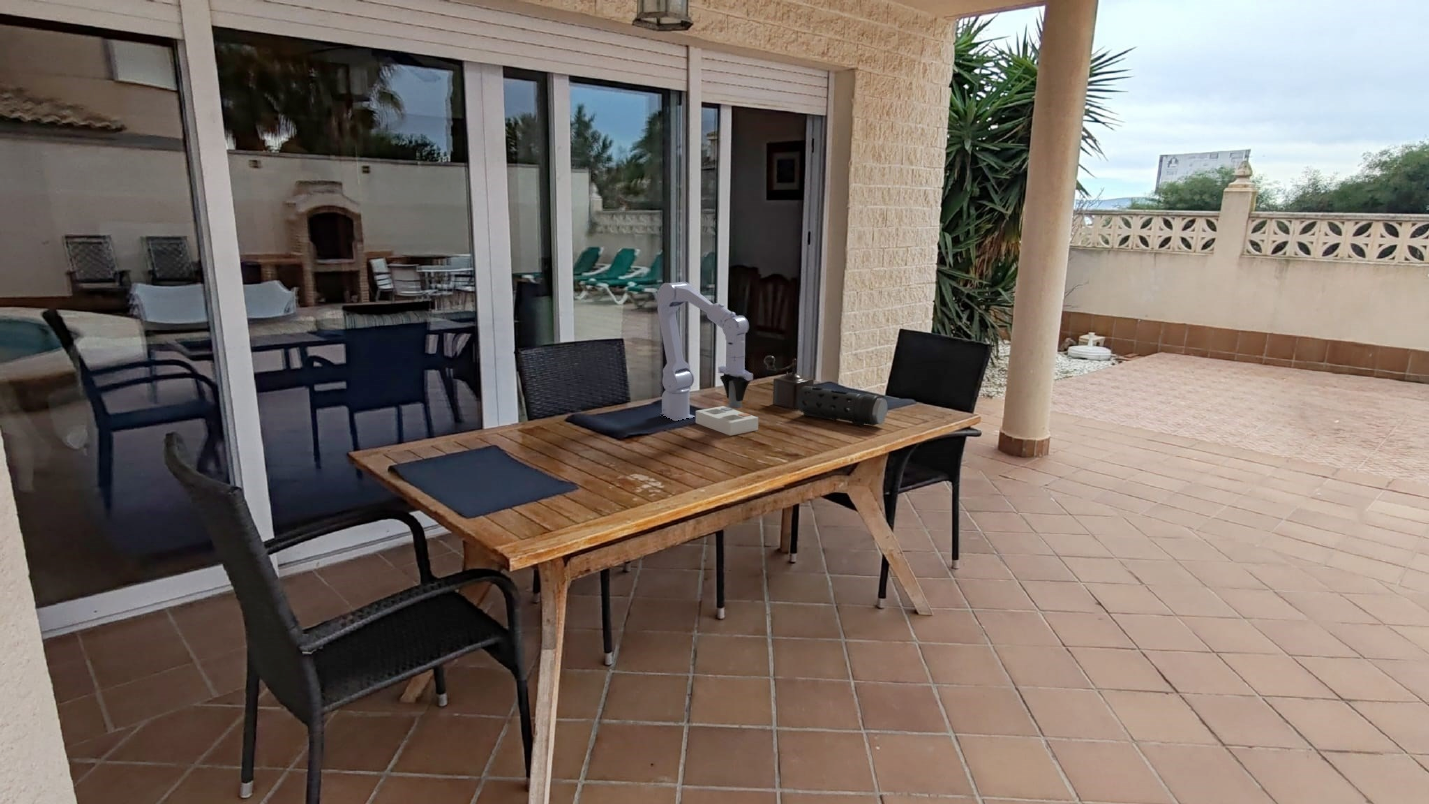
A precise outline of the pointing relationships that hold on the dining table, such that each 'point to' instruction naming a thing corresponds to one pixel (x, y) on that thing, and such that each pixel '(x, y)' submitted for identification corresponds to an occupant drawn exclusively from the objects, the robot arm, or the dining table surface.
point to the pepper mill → (787, 385)
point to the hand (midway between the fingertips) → (734, 399)
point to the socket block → (727, 420)
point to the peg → (733, 397)
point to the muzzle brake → (842, 405)
